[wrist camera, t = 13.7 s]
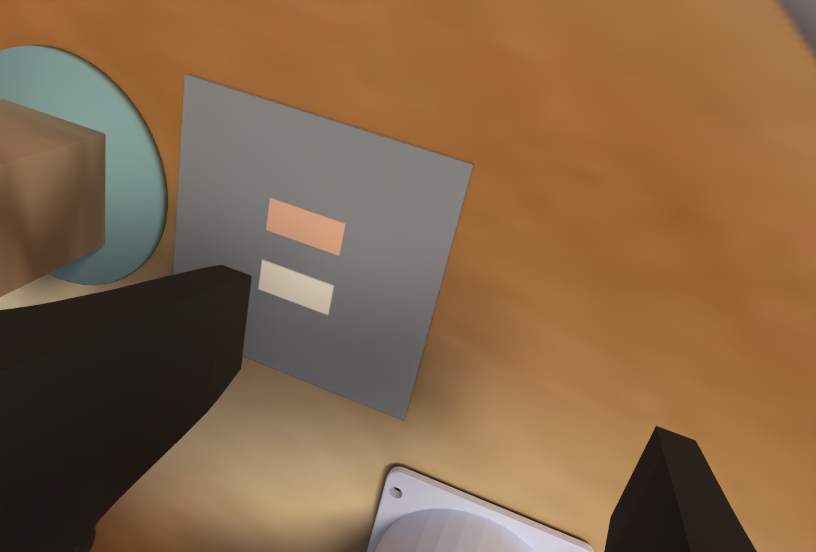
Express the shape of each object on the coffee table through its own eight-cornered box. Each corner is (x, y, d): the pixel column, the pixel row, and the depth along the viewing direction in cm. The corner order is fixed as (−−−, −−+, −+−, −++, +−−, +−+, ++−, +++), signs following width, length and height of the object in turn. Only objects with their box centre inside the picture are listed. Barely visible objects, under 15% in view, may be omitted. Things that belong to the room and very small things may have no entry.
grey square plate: (405, 418, 25) (403, 422, 25) (172, 325, 27) (168, 328, 27) (474, 163, 21) (472, 165, 20) (187, 73, 23) (183, 74, 22)
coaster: (161, 310, 27) (153, 316, 27) (-22, 238, 29) (-32, 242, 28) (173, 84, 23) (164, 86, 22) (-41, 16, 25) (-54, 16, 24)
